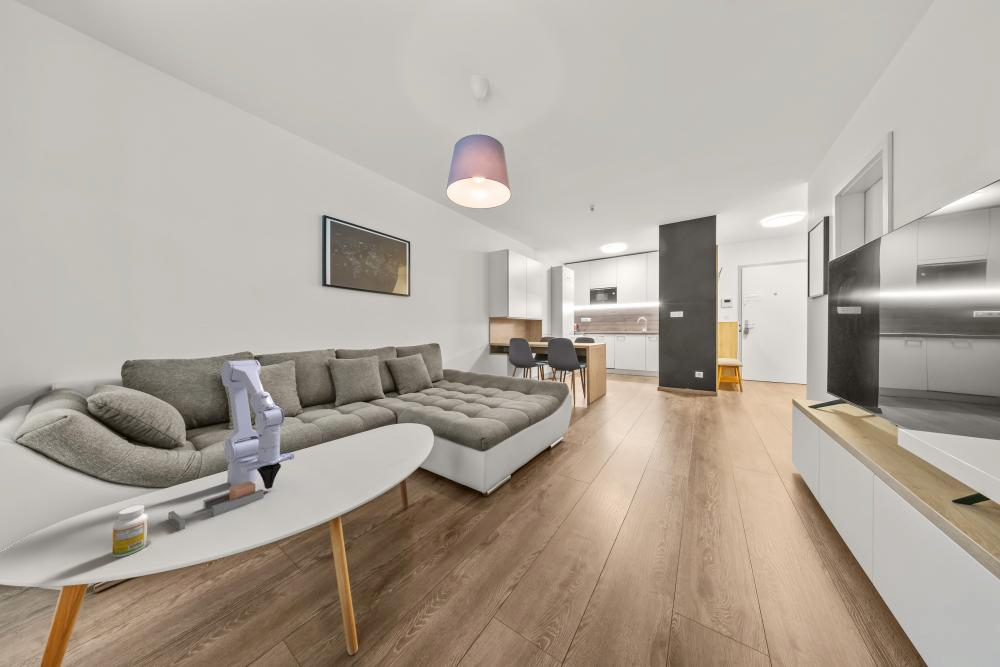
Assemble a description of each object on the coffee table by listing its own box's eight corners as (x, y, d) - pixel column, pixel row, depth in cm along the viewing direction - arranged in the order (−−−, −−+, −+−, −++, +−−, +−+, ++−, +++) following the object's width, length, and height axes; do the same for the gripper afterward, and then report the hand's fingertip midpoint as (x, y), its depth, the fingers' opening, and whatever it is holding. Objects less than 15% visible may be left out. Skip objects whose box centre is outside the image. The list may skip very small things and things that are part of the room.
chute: (167, 523, 85) (168, 510, 85) (261, 490, 104) (261, 480, 104) (179, 534, 80) (179, 521, 80) (275, 498, 99) (275, 487, 99)
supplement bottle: (123, 545, 76) (125, 505, 76) (152, 540, 78) (154, 501, 78) (105, 560, 71) (106, 517, 71) (136, 554, 73) (138, 512, 73)
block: (229, 502, 94) (229, 487, 95) (249, 495, 99) (249, 480, 99) (235, 505, 92) (235, 490, 92) (255, 498, 96) (255, 484, 97)
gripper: (247, 455, 94) (247, 500, 93) (299, 441, 106) (298, 481, 106) (238, 451, 97) (237, 494, 97) (288, 438, 110) (288, 477, 109)
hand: (268, 487), depth 101 cm, fingers closed
